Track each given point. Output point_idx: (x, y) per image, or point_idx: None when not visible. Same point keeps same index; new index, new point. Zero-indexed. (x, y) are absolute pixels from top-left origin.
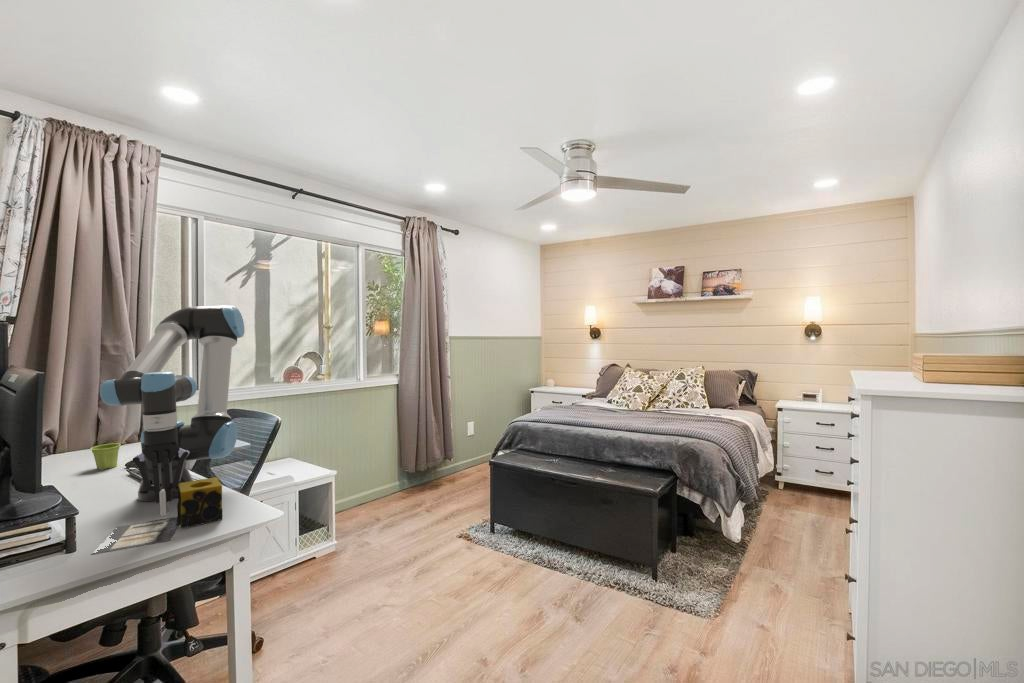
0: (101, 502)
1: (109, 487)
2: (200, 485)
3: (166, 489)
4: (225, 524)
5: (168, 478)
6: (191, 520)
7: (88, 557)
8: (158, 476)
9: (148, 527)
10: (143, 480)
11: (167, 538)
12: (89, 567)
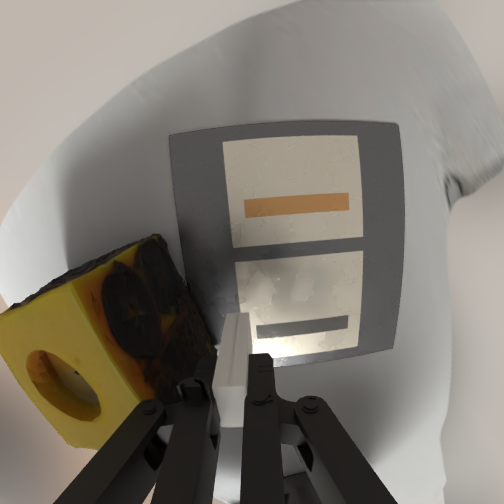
0: (418, 464)
1: (404, 498)
2: (91, 411)
3: (195, 386)
4: (48, 228)
5: (174, 452)
6: (121, 248)
7: (394, 106)
8: (243, 477)
9: (296, 306)
10: (355, 450)
11: (182, 155)
12: (351, 29)
